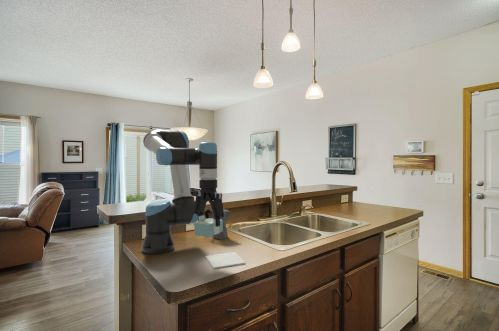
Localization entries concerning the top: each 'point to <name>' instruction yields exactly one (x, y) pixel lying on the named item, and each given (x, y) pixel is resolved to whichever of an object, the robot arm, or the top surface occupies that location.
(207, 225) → the light blue block
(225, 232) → the coffeepot
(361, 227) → the top surface
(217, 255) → the mat
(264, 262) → the top surface
